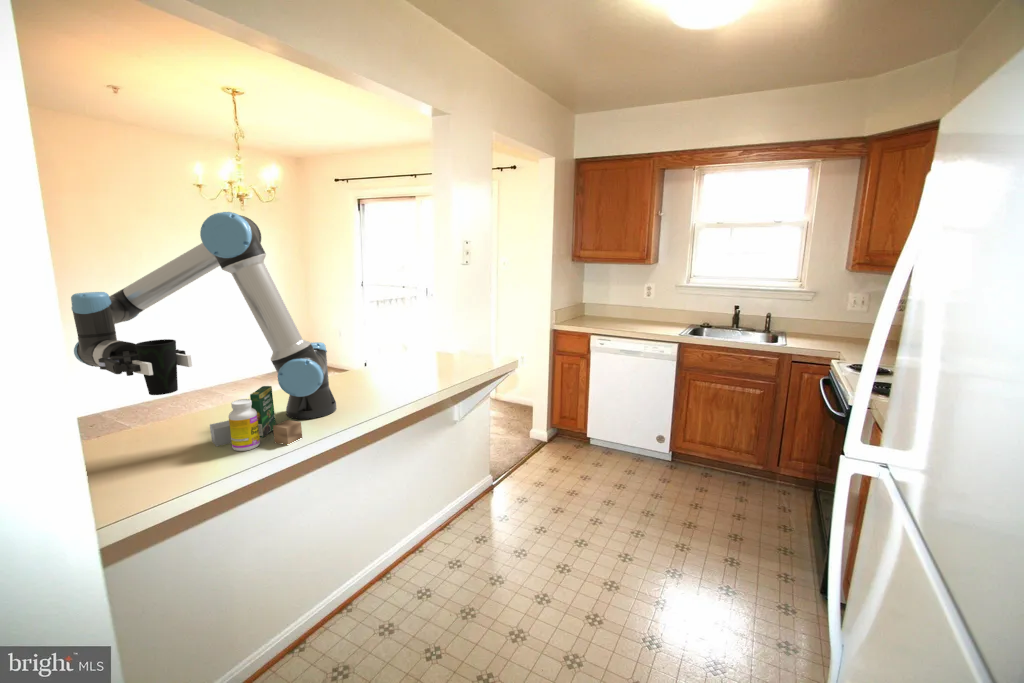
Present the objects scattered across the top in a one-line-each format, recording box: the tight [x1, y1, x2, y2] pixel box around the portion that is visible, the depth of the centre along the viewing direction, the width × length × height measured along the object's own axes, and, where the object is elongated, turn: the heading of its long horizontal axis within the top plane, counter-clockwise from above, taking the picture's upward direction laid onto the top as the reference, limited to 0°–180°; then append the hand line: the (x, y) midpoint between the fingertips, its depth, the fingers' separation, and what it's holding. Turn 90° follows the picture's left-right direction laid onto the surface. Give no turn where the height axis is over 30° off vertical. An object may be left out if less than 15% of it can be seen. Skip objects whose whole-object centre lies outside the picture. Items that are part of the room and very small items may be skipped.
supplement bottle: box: [228, 398, 261, 452], centre depth 126 cm, size 7×7×13 cm
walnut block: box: [272, 419, 303, 445], centre depth 131 cm, size 5×5×5 cm
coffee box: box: [249, 385, 277, 438], centre depth 135 cm, size 8×3×13 cm, turn 2°
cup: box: [134, 338, 179, 396], centre depth 111 cm, size 8×8×12 cm
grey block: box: [209, 419, 232, 447], centre depth 130 cm, size 5×5×5 cm
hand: (170, 365), depth 108 cm, fingers closed on cup, 8 cm apart
